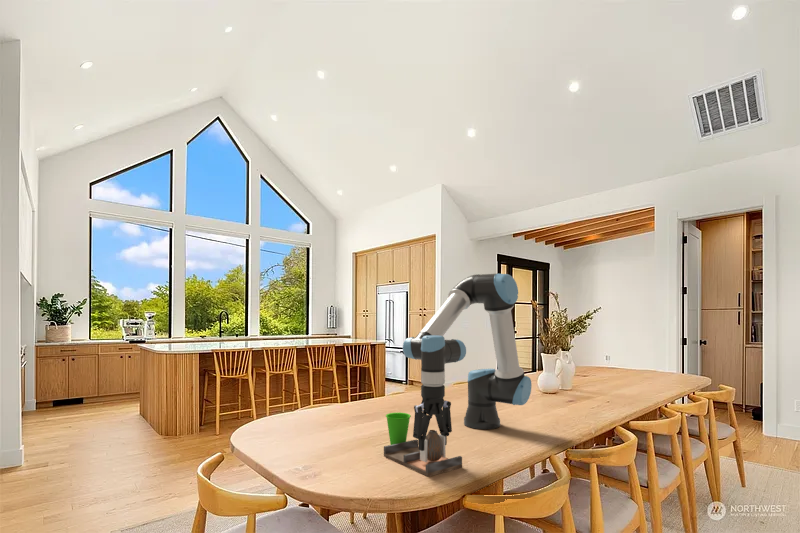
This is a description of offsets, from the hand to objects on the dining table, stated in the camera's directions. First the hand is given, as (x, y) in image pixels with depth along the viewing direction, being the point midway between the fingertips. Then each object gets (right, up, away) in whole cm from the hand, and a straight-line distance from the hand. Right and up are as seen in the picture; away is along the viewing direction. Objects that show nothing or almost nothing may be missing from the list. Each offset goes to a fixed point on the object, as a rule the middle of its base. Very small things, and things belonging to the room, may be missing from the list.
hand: (432, 458), depth 150 cm
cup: (-11, -4, +20) cm, 23 cm away
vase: (0, 0, 0) cm, 1 cm away
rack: (-3, -3, +4) cm, 6 cm away
